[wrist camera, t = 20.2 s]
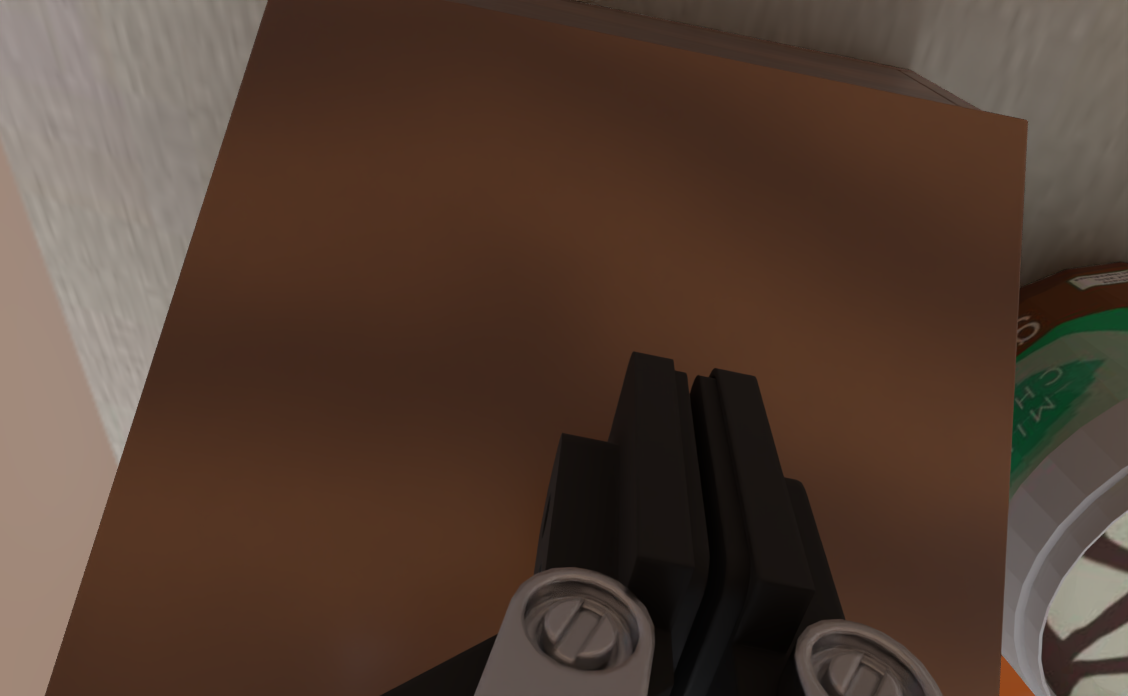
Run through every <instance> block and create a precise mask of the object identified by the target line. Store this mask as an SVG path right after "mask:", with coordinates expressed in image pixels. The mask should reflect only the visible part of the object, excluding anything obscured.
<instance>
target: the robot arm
mask: <svg viewBox="0 0 1128 696" xmlns="http://www.w3.org/2000/svg"><path fill="white" fill-rule="evenodd" d="M380 696H943V694H942V692H941V691H940V689H939V687H938V685H937V683H936V682H935V680H934V679H933V677H932V676H931V675H930V673H929V672H928V670H927V669H926V668H925V666H924V665H923V664H922V662H921V661H920V660H919V659H917V658H916V657H915V656H914V655H913V654H912V653H911V652H910V651H909V650H908V649H907V648H906V647H905V646H903V645H902V644H900V643H899V642H897V641H896V640H894V639H893V638H891V637H890V636H888V635H887V634H885V633H883V632H881V631H879V630H877V629H874V628H872V627H869V626H867V625H865V624H862V623H858V622H853V621H848V620H846V619H845V616H844V613H843V609H842V606H841V603H840V600H839V596H838V593H837V590H836V587H835V583H834V580H833V577H832V574H831V571H830V567H829V564H828V561H827V558H826V554H825V551H824V548H823V545H822V541H821V538H820V535H819V532H818V528H817V525H816V522H815V519H814V515H813V512H812V509H811V506H810V502H809V499H808V496H807V493H806V490H805V488H804V486H803V484H802V482H800V481H798V480H796V479H791V478H786V477H784V475H783V471H782V468H781V464H780V461H779V457H778V453H777V450H776V446H775V443H774V439H773V435H772V432H771V428H770V425H769V421H768V417H767V414H766V410H765V407H764V403H763V399H762V396H761V392H760V388H759V385H758V381H757V379H756V377H755V376H752V375H747V374H742V373H738V372H733V371H728V370H723V369H718V368H714V369H713V370H712V371H711V373H710V375H709V377H705V376H700V375H697V376H696V378H695V379H694V382H693V385H692V388H691V391H690V394H689V386H688V378H687V373H685V372H680V371H676V370H675V368H674V361H673V359H669V358H664V357H659V356H654V355H649V354H644V353H639V352H635V351H633V352H632V354H631V357H630V360H629V363H628V367H627V370H626V374H625V378H624V382H623V385H622V389H621V393H620V397H619V400H618V404H617V408H616V412H615V415H614V419H613V423H612V427H611V431H610V434H609V438H608V442H606V441H601V440H596V439H591V438H586V437H581V436H576V435H571V434H566V433H562V434H561V437H560V440H559V444H558V448H557V452H556V456H555V461H554V465H553V469H552V474H551V478H550V483H549V487H548V492H547V497H546V502H545V507H544V512H543V517H542V523H541V528H540V534H539V541H538V548H537V555H536V562H535V569H534V575H533V576H532V577H530V578H529V579H528V580H526V581H525V582H523V583H522V584H521V585H520V586H519V588H518V589H517V591H516V593H515V594H514V596H513V597H512V599H511V601H510V604H509V606H508V609H507V611H506V614H505V617H504V619H503V622H502V624H501V627H500V630H499V632H498V634H496V635H494V636H492V637H490V638H488V639H487V640H485V641H483V642H481V643H479V644H477V645H475V646H473V647H471V648H469V649H468V650H466V651H464V652H462V653H460V654H458V655H456V656H454V657H452V658H450V659H448V660H447V661H445V662H443V663H441V664H439V665H437V666H435V667H433V668H431V669H429V670H428V671H426V672H424V673H422V674H420V675H418V676H416V677H414V678H412V679H410V680H408V681H407V682H405V683H403V684H401V685H399V686H397V687H395V688H393V689H391V690H389V691H388V692H386V693H384V694H382V695H380Z"/></svg>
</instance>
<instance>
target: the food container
mask: <svg viewBox="0 0 1128 696" xmlns="http://www.w3.org/2000/svg"><path fill="white" fill-rule="evenodd" d="M1001 654H1002V655H1003V656H1004V658H1005V659H1006V660H1007V661H1008V662H1009V664H1010V665H1011V666H1012V667H1013V669H1014V670H1015V671H1016V672H1017V673H1018V675H1019V676H1020V677H1021V678H1022V680H1023V681H1024V682H1025V683H1026V685H1027V686H1028V687H1029V688H1030V689H1031V691H1032V692H1033V693H1034V694H1035V696H1128V263H1124V262H1116V263H1108V264H1101V265H1094V266H1087V267H1080V268H1073V269H1066V270H1063V271H1061V272H1058V273H1056V274H1053V275H1051V276H1048V277H1046V278H1043V279H1041V280H1038V281H1036V282H1033V283H1031V284H1028V285H1026V286H1023V287H1021V288H1020V290H1019V310H1018V330H1017V350H1016V370H1015V390H1014V410H1013V429H1012V449H1011V469H1010V489H1009V509H1008V529H1007V549H1006V569H1005V588H1004V608H1003V628H1002V648H1001Z"/></svg>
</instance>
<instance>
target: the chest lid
mask: <svg viewBox="0 0 1128 696" xmlns="http://www.w3.org/2000/svg"><path fill="white" fill-rule="evenodd" d="M1027 131H1028V121H1027V120H1024V119H1019V118H1015V117H1010V116H1005V115H1000V114H995V113H990V112H986V111H981V110H976V109H971V108H966V107H961V106H956V105H952V104H947V103H942V102H937V101H932V100H927V99H923V98H918V97H913V96H908V95H903V94H898V93H893V92H889V91H884V90H879V89H874V88H869V87H864V86H859V85H855V84H850V83H845V82H840V81H835V80H830V79H826V78H821V77H816V76H811V75H806V74H801V73H796V72H792V71H787V70H782V69H777V68H772V67H767V66H763V65H758V64H753V63H748V62H743V61H738V60H733V59H729V58H724V57H719V56H714V55H709V54H704V53H700V52H695V51H690V50H685V49H680V48H675V47H670V46H666V45H661V44H656V43H651V42H646V41H641V40H636V39H632V38H627V37H622V36H617V35H612V34H607V33H603V32H598V31H593V30H588V29H583V28H578V27H573V26H569V25H564V24H559V23H554V22H549V21H544V20H540V19H535V18H530V17H525V16H520V15H515V14H510V13H506V12H501V11H496V10H491V9H486V8H481V7H477V6H472V5H467V4H462V3H457V2H452V1H447V0H268V2H267V5H266V8H265V11H264V14H263V17H262V20H261V24H260V27H259V30H258V33H257V36H256V39H255V42H254V45H253V49H252V52H251V55H250V58H249V61H248V64H247V67H246V70H245V73H244V77H243V80H242V83H241V86H240V89H239V92H238V95H237V98H236V101H235V105H234V108H233V111H232V114H231V117H230V120H229V123H228V126H227V130H226V133H225V136H224V139H223V142H222V145H221V148H220V151H219V154H218V158H217V161H216V164H215V167H214V170H213V173H212V176H211V179H210V183H209V186H208V189H207V192H206V195H205V198H204V201H203V204H202V207H201V211H200V214H199V217H198V220H197V223H196V226H195V229H194V232H193V236H192V239H191V242H190V245H189V248H188V251H187V254H186V257H185V260H184V264H183V267H182V270H181V273H180V276H179V279H178V282H177V285H176V289H175V292H174V295H173V298H172V301H171V304H170V307H169V310H168V313H167V317H166V320H165V323H164V326H163V329H162V332H161V335H160V338H159V341H158V345H157V348H156V351H155V354H154V357H153V360H152V363H151V366H150V370H149V373H148V376H147V379H146V382H145V385H144V388H143V391H142V394H141V398H140V401H139V404H138V407H137V410H136V413H135V416H134V419H133V423H132V426H131V429H130V432H129V435H128V438H127V441H126V444H125V447H124V451H123V454H122V457H121V460H120V463H119V466H118V469H117V472H116V476H115V479H114V482H113V485H112V488H111V491H110V494H109V497H108V500H107V504H106V507H105V510H104V513H103V516H102V519H101V522H100V525H99V529H98V532H97V535H96V538H95V541H94V544H93V547H92V550H91V554H90V557H89V560H88V563H87V566H86V569H85V572H84V576H83V578H82V582H81V585H80V588H79V591H78V594H77V597H76V600H75V604H74V607H73V610H72V613H71V616H70V619H69V622H68V625H67V628H66V631H65V634H64V638H63V641H62V644H61V647H60V650H59V653H58V656H57V659H56V663H55V666H54V669H53V672H52V675H51V678H50V681H49V684H48V687H47V691H46V694H45V696H380V695H382V694H384V693H386V692H388V691H389V690H391V689H393V688H395V687H397V686H399V685H401V684H403V683H405V682H407V681H408V680H410V679H412V678H414V677H416V676H418V675H420V674H422V673H424V672H426V671H428V670H429V669H431V668H433V667H435V666H437V665H439V664H441V663H443V662H445V661H447V660H448V659H450V658H452V657H454V656H456V655H458V654H460V653H462V652H464V651H466V650H468V649H469V648H471V647H473V646H475V645H477V644H479V643H481V642H483V641H485V640H487V639H488V638H490V637H492V636H494V635H496V634H498V632H499V630H500V627H501V624H502V622H503V619H504V617H505V614H506V611H507V609H508V606H509V604H510V601H511V599H512V597H513V596H514V594H515V593H516V591H517V589H518V588H519V586H520V585H521V584H522V583H523V582H525V581H526V580H528V579H529V578H530V577H532V576H533V575H534V569H535V562H536V555H537V548H538V541H539V534H540V528H541V523H542V517H543V512H544V507H545V502H546V497H547V492H548V487H549V483H550V478H551V474H552V469H553V465H554V461H555V456H556V452H557V448H558V444H559V440H560V437H561V434H562V433H566V434H571V435H576V436H581V437H586V438H591V439H596V440H601V441H606V442H608V438H609V434H610V431H611V427H612V423H613V419H614V415H615V412H616V408H617V404H618V400H619V397H620V393H621V389H622V385H623V382H624V378H625V374H626V370H627V367H628V363H629V360H630V357H631V354H632V352H633V351H635V352H639V353H644V354H649V355H654V356H659V357H664V358H669V359H673V361H674V368H675V370H676V371H680V372H685V373H687V378H688V386H689V394H690V391H691V388H692V385H693V382H694V379H695V378H696V376H697V375H700V376H705V377H709V375H710V373H711V371H712V370H713V369H714V368H718V369H723V370H728V371H733V372H738V373H742V374H747V375H752V376H755V377H756V379H757V381H758V385H759V388H760V392H761V396H762V399H763V403H764V407H765V410H766V414H767V417H768V421H769V425H770V428H771V432H772V435H773V439H774V443H775V446H776V450H777V453H778V457H779V461H780V464H781V468H782V471H783V475H784V477H786V478H791V479H796V480H798V481H800V482H802V484H803V486H804V488H805V490H806V493H807V496H808V499H809V502H810V506H811V509H812V512H813V515H814V519H815V522H816V525H817V528H818V532H819V535H820V538H821V541H822V545H823V548H824V551H825V554H826V558H827V561H828V564H829V567H830V571H831V574H832V577H833V580H834V583H835V587H836V590H837V593H838V596H839V600H840V603H841V606H842V609H843V613H844V616H845V619H846V620H848V621H853V622H858V623H862V624H865V625H867V626H869V627H872V628H874V629H877V630H879V631H881V632H883V633H885V634H887V635H888V636H890V637H891V638H893V639H894V640H896V641H897V642H899V643H900V644H902V645H903V646H905V647H906V648H907V649H908V650H909V651H910V652H911V653H912V654H913V655H914V656H915V657H916V658H917V659H919V660H920V661H921V662H922V664H923V665H924V666H925V668H926V669H927V670H928V672H929V673H930V675H931V676H932V677H933V679H934V680H935V682H936V683H937V685H938V687H939V689H940V691H941V692H942V694H943V696H999V688H1000V668H1001V667H1000V666H1001V648H1002V628H1003V608H1004V588H1005V569H1006V549H1007V529H1008V509H1009V489H1010V469H1011V449H1012V429H1013V410H1014V390H1015V370H1016V350H1017V330H1018V310H1019V290H1020V270H1021V251H1022V231H1023V211H1024V191H1025V171H1026V151H1027Z"/></svg>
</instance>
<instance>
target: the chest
mask: <svg viewBox="0 0 1128 696" xmlns="http://www.w3.org/2000/svg"><path fill="white" fill-rule="evenodd" d="M447 1H452V2H457V3H462V4H467V5H472V6H477V7H481V8H486V9H491V10H496V11H501V12H506V13H510V14H515V15H520V16H525V17H530V18H535V19H540V20H544V21H549V22H554V23H559V24H564V25H569V26H573V27H578V28H583V29H588V30H593V31H598V32H603V33H607V34H612V35H617V36H622V37H627V38H632V39H636V40H641V41H646V42H651V43H656V44H661V45H666V46H670V47H675V48H680V49H685V50H690V51H695V52H700V53H704V54H709V55H714V56H719V57H724V58H729V59H733V60H738V61H743V62H748V63H753V64H758V65H763V66H767V67H772V68H777V69H782V70H787V71H792V72H796V73H801V74H806V75H811V76H816V77H821V78H826V79H830V80H835V81H840V82H845V83H850V84H855V85H859V86H864V87H869V88H874V89H879V90H884V91H889V92H893V93H898V94H903V95H908V96H913V97H918V98H923V99H927V100H932V101H937V102H942V103H947V104H952V105H956V106H961V107H966V108H971V109H976V110H980V109H978V108H977V107H975V106H973V105H971V104H970V103H968V102H966V101H964V100H963V99H961V98H959V97H957V96H955V95H954V94H952V93H950V92H948V91H947V90H945V89H943V88H941V87H940V86H938V85H936V84H934V83H933V82H931V81H929V80H927V79H926V78H924V77H922V76H920V75H918V74H917V73H915V72H913V71H911V70H907V69H902V68H897V67H893V66H888V65H883V64H878V63H873V62H868V61H864V60H859V59H854V58H849V57H844V56H839V55H835V54H830V53H825V52H820V51H815V50H810V49H806V48H801V47H796V46H791V45H786V44H781V43H777V42H772V41H767V40H762V39H757V38H752V37H748V36H743V35H738V34H733V33H728V32H723V31H719V30H714V29H709V28H704V27H699V26H694V25H690V24H685V23H680V22H675V21H670V20H665V19H661V18H656V17H651V16H646V15H641V14H637V13H632V12H627V11H622V10H617V9H612V8H608V7H603V6H598V5H593V4H588V3H583V2H579V1H574V0H447ZM981 111H982V110H981Z"/></svg>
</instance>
